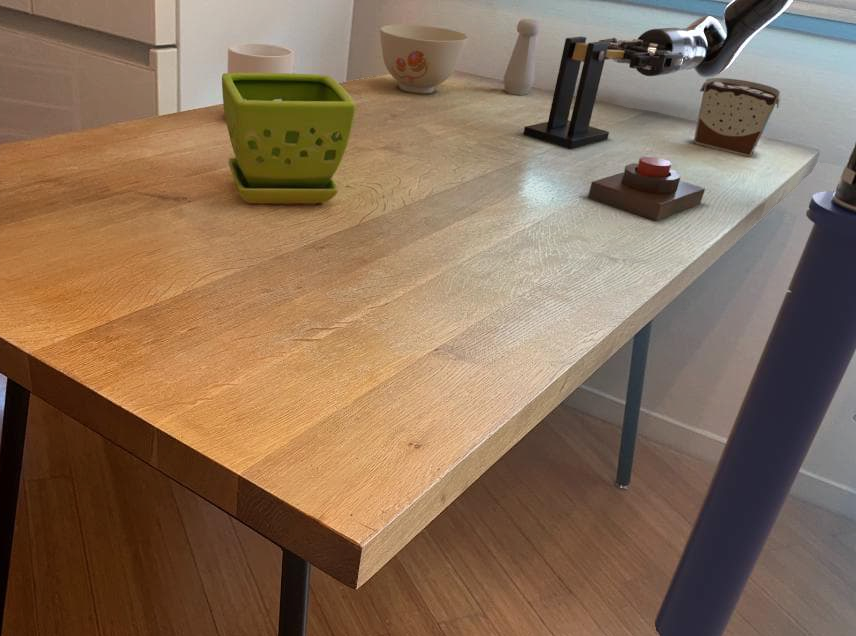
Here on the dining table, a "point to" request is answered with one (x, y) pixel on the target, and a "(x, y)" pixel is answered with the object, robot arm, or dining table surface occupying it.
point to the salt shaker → (522, 59)
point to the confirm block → (646, 193)
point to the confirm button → (654, 166)
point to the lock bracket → (578, 128)
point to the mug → (260, 59)
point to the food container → (734, 114)
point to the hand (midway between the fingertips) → (614, 56)
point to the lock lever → (611, 52)
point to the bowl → (421, 55)
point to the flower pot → (286, 135)
